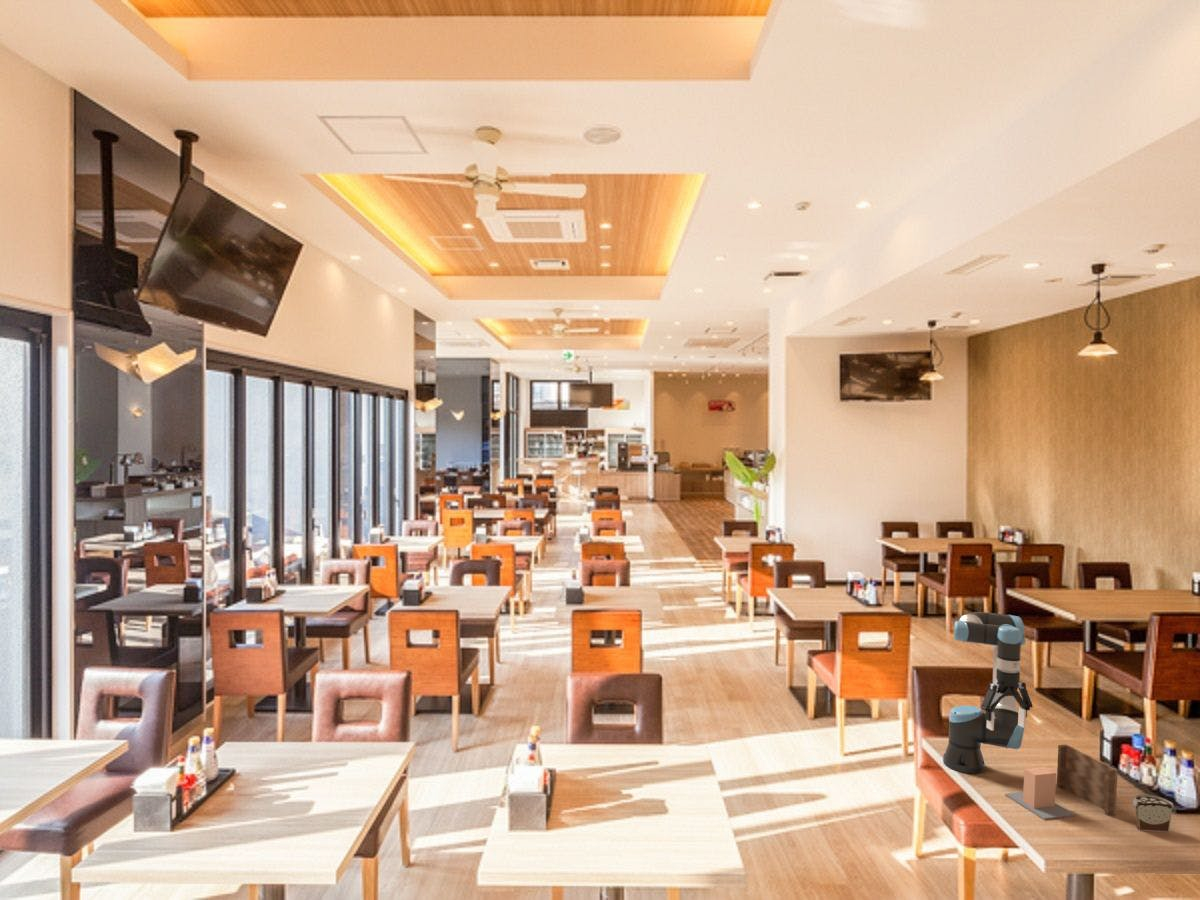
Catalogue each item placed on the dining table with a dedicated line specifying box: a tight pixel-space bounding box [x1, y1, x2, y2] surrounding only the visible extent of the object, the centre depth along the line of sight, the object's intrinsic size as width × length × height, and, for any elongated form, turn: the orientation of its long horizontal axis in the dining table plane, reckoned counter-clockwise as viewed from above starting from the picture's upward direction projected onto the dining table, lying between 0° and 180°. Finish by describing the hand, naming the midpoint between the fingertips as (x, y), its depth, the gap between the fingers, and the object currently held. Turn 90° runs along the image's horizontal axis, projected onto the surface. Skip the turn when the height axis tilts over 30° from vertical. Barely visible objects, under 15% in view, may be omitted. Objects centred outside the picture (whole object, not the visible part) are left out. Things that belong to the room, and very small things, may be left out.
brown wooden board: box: [1056, 743, 1119, 817], centre depth 281 cm, size 22×4×16 cm, turn 14°
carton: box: [1022, 766, 1057, 808], centre depth 277 cm, size 5×9×12 cm, turn 104°
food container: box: [1132, 793, 1175, 833], centre depth 263 cm, size 12×6×10 cm, turn 84°
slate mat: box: [1004, 791, 1076, 820], centre depth 277 cm, size 18×13×1 cm
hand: (1005, 727), depth 279 cm, fingers open, 13 cm apart
